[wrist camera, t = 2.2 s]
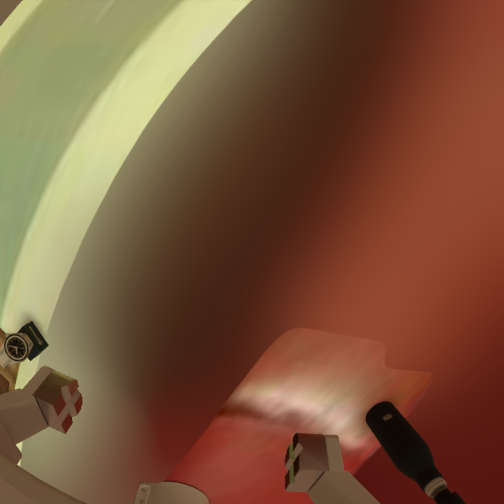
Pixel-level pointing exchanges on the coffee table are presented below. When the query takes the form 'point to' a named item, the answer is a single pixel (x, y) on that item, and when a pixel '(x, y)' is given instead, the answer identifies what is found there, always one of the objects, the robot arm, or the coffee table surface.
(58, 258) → the coffee table surface
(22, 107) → the coffee table surface
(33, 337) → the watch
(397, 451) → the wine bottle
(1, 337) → the board
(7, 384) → the brown stepped block
